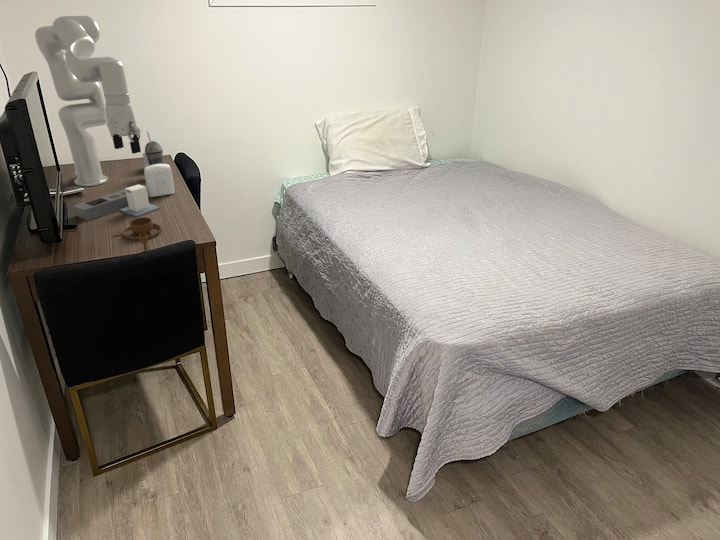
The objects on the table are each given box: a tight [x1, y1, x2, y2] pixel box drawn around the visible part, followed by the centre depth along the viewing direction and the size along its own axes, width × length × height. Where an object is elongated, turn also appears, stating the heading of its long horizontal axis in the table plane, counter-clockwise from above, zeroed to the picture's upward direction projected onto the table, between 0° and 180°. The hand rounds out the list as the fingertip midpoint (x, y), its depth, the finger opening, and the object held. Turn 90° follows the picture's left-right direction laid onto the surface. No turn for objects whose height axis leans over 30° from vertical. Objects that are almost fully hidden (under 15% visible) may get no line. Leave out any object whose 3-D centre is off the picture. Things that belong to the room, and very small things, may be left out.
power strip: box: [72, 189, 129, 221], centre depth 191 cm, size 7×24×4 cm, turn 146°
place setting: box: [114, 216, 162, 252], centre depth 168 cm, size 18×20×6 cm
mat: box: [119, 203, 161, 218], centre depth 191 cm, size 10×10×1 cm
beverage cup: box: [144, 131, 164, 166], centre depth 219 cm, size 7×7×20 cm
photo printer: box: [143, 163, 176, 198], centre depth 202 cm, size 10×4×12 cm, turn 123°
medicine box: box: [142, 151, 149, 168], centre depth 232 cm, size 8×4×9 cm, turn 179°
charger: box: [124, 183, 150, 212], centre depth 189 cm, size 4×6×8 cm
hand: (127, 150), depth 180 cm, fingers open, 9 cm apart
